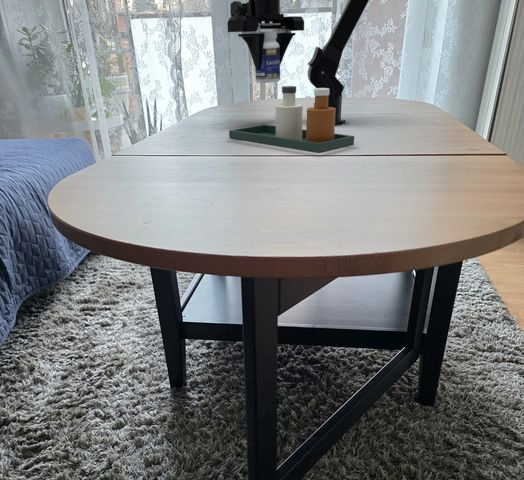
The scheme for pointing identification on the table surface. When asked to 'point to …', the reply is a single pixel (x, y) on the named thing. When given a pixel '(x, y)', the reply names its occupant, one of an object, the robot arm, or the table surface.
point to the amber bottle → (320, 118)
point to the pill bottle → (269, 59)
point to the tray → (268, 137)
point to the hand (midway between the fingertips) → (267, 69)
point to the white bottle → (289, 115)
